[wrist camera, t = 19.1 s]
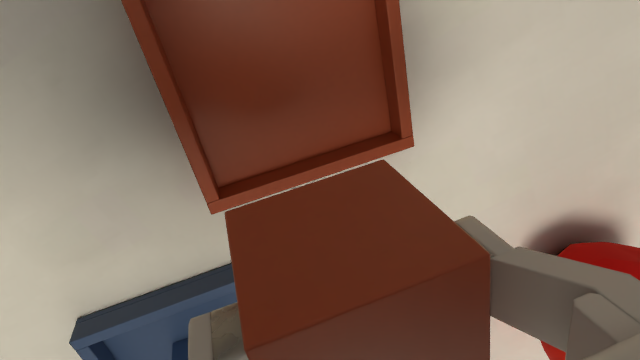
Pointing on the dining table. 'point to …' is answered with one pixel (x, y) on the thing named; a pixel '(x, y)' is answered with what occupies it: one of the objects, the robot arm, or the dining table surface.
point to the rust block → (358, 274)
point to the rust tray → (276, 88)
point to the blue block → (180, 350)
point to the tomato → (601, 255)
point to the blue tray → (152, 319)
